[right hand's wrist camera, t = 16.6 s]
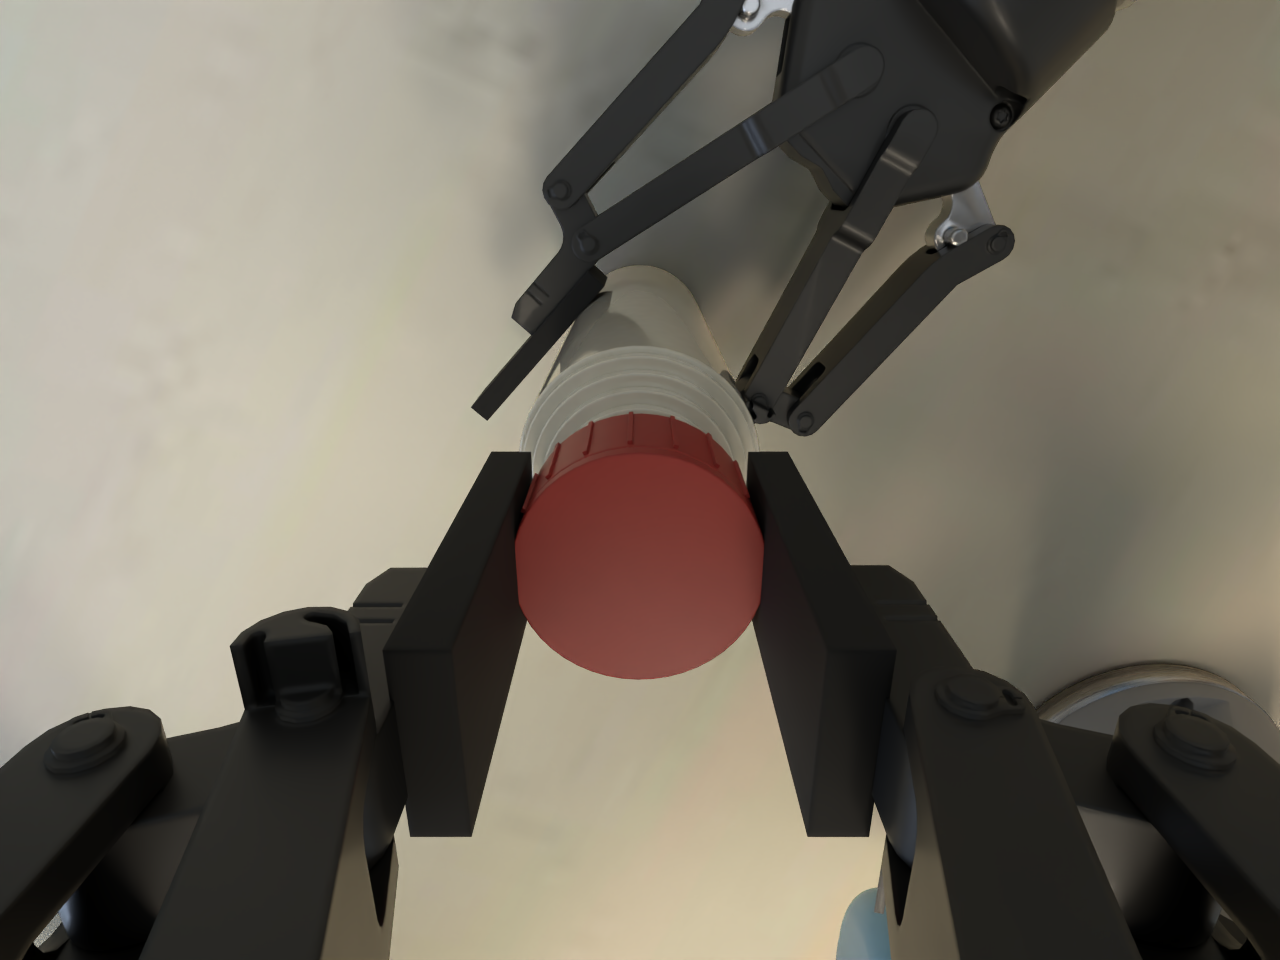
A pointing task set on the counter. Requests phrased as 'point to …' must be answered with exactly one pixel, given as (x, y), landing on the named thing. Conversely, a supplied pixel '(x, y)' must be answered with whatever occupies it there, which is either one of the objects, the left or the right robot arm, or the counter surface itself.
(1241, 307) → the counter surface
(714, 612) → the cap
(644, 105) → the left robot arm
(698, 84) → the counter surface
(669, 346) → the bottle
